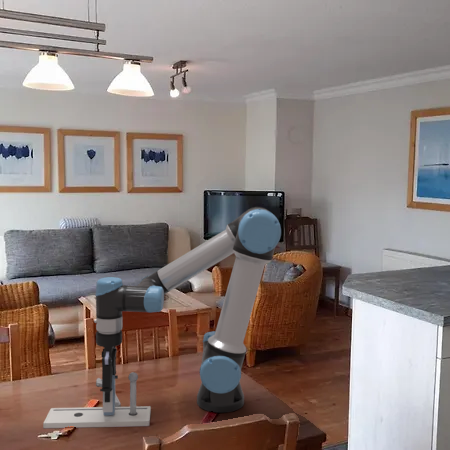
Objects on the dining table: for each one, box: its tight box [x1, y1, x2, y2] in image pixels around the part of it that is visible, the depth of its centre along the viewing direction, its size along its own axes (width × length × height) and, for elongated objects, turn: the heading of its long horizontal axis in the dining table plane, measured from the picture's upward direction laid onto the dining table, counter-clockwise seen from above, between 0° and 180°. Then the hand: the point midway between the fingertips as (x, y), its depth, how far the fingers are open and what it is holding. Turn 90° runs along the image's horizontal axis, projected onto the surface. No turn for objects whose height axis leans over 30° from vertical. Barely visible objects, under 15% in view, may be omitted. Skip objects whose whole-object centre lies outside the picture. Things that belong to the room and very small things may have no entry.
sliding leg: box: [104, 375, 116, 415], centre depth 164 cm, size 3×3×11 cm
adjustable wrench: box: [95, 377, 122, 407], centre depth 183 cm, size 25×6×2 cm, turn 17°
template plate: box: [42, 371, 152, 429], centre depth 163 cm, size 30×10×14 cm, turn 95°
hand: (109, 406), depth 164 cm, fingers open, 7 cm apart
